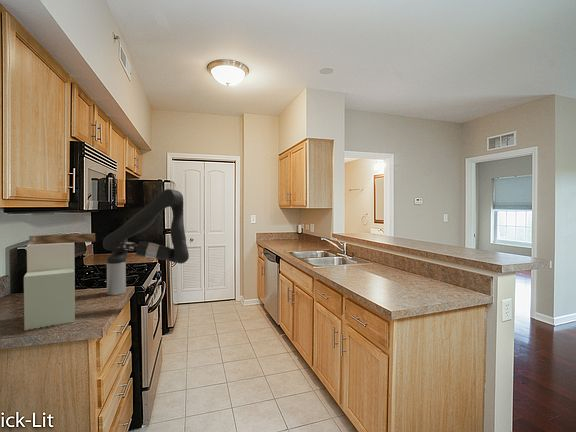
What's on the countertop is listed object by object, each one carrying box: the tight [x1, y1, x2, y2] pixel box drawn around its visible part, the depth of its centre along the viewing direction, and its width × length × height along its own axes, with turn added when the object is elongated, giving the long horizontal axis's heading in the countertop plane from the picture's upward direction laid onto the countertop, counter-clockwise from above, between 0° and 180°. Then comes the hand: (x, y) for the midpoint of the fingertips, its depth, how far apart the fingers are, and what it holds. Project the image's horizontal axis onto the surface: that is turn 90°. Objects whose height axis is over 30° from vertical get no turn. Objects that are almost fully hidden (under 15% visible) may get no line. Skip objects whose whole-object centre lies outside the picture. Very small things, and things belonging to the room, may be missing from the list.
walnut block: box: [28, 232, 96, 245], centre depth 136 cm, size 24×4×4 cm, turn 125°
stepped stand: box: [23, 243, 76, 331], centre depth 130 cm, size 20×16×32 cm
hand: (112, 242), depth 148 cm, fingers open, 8 cm apart
